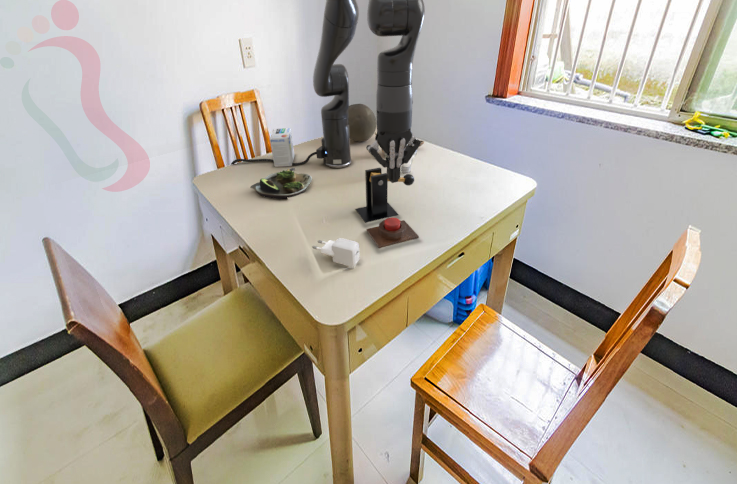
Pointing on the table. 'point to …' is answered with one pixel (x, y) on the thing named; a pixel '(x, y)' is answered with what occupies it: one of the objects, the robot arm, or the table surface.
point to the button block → (391, 234)
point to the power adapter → (341, 251)
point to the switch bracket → (376, 197)
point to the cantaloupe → (361, 122)
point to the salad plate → (283, 184)
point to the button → (392, 224)
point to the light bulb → (408, 164)
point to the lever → (407, 179)
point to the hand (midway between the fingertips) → (393, 181)
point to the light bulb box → (282, 147)
